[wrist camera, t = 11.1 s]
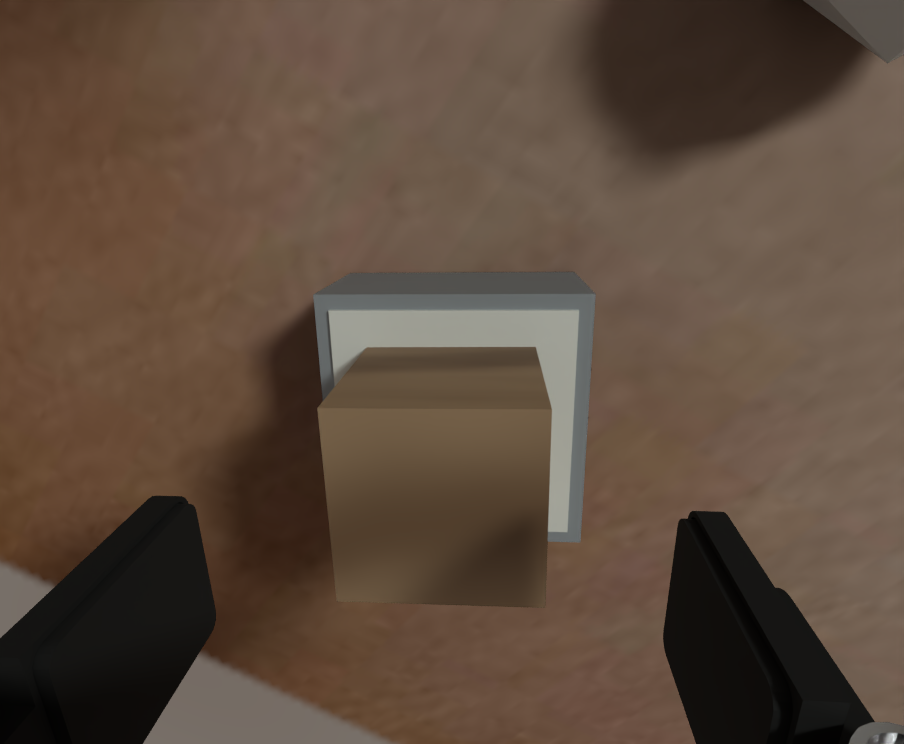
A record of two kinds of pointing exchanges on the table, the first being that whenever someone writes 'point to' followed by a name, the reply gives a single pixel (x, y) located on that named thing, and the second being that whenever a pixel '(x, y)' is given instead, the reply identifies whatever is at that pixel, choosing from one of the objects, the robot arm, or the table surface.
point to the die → (868, 23)
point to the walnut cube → (439, 476)
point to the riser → (479, 345)
